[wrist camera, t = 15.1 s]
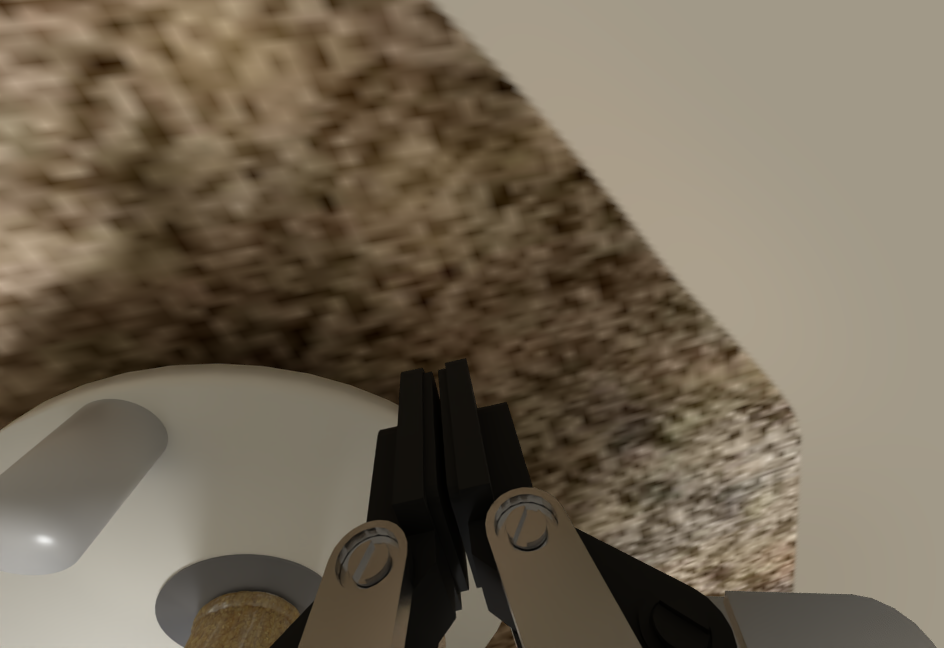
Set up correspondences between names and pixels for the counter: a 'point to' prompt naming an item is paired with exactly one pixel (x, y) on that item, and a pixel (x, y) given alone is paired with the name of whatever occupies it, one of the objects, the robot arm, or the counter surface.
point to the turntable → (184, 502)
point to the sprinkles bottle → (242, 621)
